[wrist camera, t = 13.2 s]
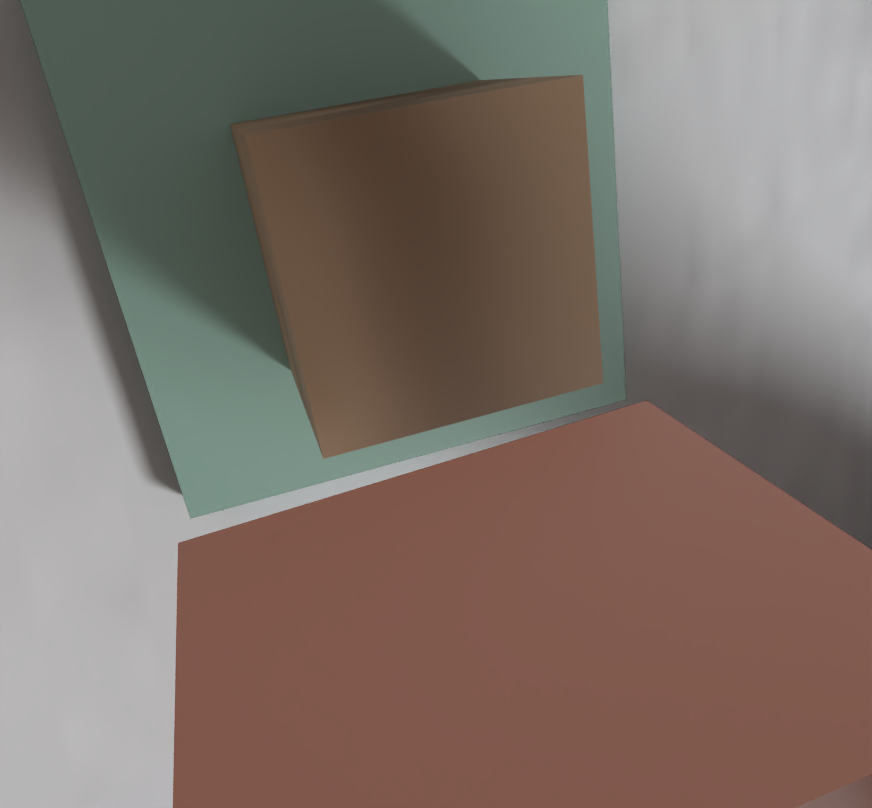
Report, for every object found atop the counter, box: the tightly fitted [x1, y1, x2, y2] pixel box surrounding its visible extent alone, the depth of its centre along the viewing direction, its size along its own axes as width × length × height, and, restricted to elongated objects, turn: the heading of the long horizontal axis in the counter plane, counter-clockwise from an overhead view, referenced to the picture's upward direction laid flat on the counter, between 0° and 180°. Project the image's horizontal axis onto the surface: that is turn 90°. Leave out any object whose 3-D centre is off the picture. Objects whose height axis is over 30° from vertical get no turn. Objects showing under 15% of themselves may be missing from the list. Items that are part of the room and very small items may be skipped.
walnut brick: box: [230, 75, 603, 459], centre depth 15 cm, size 6×6×5 cm
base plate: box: [20, 0, 626, 519], centre depth 18 cm, size 12×12×1 cm
